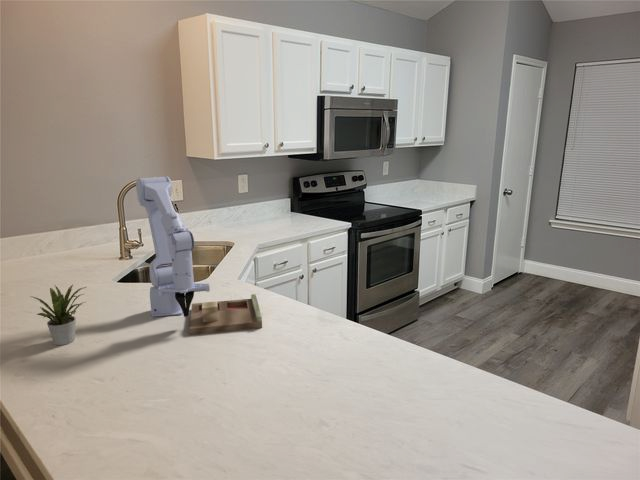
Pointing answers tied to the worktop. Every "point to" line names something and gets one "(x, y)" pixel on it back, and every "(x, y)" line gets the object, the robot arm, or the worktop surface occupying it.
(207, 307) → the maple block
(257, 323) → the trap deck
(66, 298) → the house plant
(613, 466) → the worktop surface
